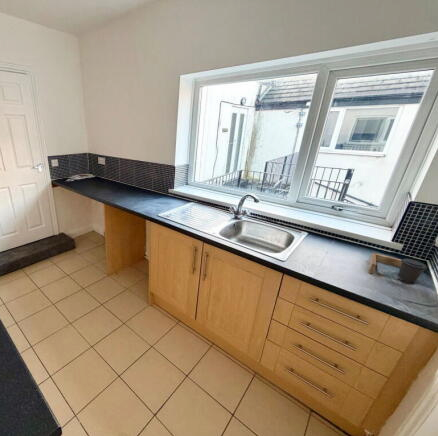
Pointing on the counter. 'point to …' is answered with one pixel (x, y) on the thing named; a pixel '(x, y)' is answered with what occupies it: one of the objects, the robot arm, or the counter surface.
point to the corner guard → (381, 258)
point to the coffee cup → (410, 270)
